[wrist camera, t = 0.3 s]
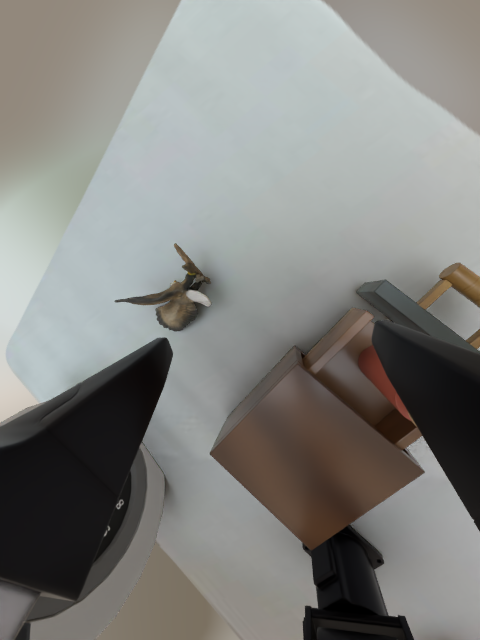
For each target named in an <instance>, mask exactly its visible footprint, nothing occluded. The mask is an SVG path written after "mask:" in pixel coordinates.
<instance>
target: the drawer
mask: <svg viewBox="0 0 480 640" xmlns="http://www.w3.org/2000/svg"><path fill="white" fill-rule="evenodd" d="M439 278H440V279H442V280H440V281H439V282H438V283H437V284H436V285H435V286H434V287H433V288H432V289H430V290H429V291H428V292H427V293H426V294H425V295H424V296H423V297H422V298H421V299H420V300H419V301H418V302H417V303H416V302H414V301H413V300H412V299H410V298H409V297H408V296H406V295H405V294H404V293H402V292H401V291H400V290H399V289H397V288H396V287H395V286H393V285H392V284H391V283H389V282H388V281H387V280H380V281H373V282H366V283H364V284H363V285H362V286H361V287H360V288H359V289H358V290H357V291H356V293H358V294H359V295H360V296H361V297H363V298H364V299H365V300H366V301H368V302H369V303H370V304H372V305H373V306H374V307H375V308H377V309H378V310H379V311H380V312H382V313H383V314H384V315H386V316H387V317H388V318H389V319H391V320H392V321H393V322H395V323H396V324H399V325H402V326H405V327H407V328H410V329H413V330H416V331H418V332H421V333H424V334H427V335H429V336H432V337H435V338H438V339H440V340H443V341H446V342H449V343H451V344H454V345H457V346H459V347H462V348H465V349H468V350H470V351H473V352H476V353H479V354H480V351H478V350H477V349H478V348H479V347H480V329H479V330H478V331H477V332H476V333H474V334H473V335H472V336H471V337H469V338H468V339H467V340H466V341H465V340H464V339H463V338H461V337H460V336H459V335H457V334H456V333H455V332H454V331H452V330H451V329H450V328H448V327H447V326H446V325H444V324H443V323H442V322H440V321H439V320H438V319H437V318H435V317H434V316H433V315H431V314H430V313H429V312H427V311H426V309H427V308H428V307H429V306H430V305H431V304H432V303H433V302H434V301H435V300H436V299H438V298H439V297H440V296H441V295H442V294H443V293H444V292H445V291H446V290H447V289H448V288H450V287H452V288H454V289H455V290H456V291H458V292H459V293H461V294H462V295H463V296H465V297H466V298H467V299H469V300H470V301H471V302H473V303H474V304H475V305H477V306H478V307H479V308H480V277H479V276H478V275H476V274H475V273H474V272H472V271H471V270H470V269H468V268H467V267H465V266H464V265H463V264H461V263H455V264H453V265H451V266H449V267H447V268H446V269H445V270H443V271H442V272H441V273H440V275H439ZM373 318H374V316H373V315H372V314H371V313H370V312H368V311H366V310H361V309H357V308H351V309H350V310H349V311H348V312H347V313H346V314H345V315H344V316H343V318H342V319H341V320H340V321H339V322H338V323H337V324H336V325H335V326H334V327H333V328H332V329H331V330H330V331H329V332H328V333H327V334H326V335H325V336H324V337H323V338H322V339H321V340H320V341H319V342H318V343H317V344H316V345H315V346H314V347H313V348H312V349H311V350H310V351H309V352H308V353H307V355H306V356H305V357H304V358H303V359H302V361H303V366H304V367H305V368H306V369H307V370H309V371H310V372H311V373H312V374H313V375H314V376H316V377H317V378H318V379H319V380H320V381H322V382H323V383H324V384H325V385H326V386H327V387H329V388H330V389H331V390H332V391H333V392H335V393H336V394H337V395H338V396H339V397H340V398H342V399H343V400H344V401H345V402H346V403H347V404H349V405H350V406H351V407H352V408H353V409H355V410H356V411H357V412H358V413H359V414H360V415H362V416H363V417H364V418H365V419H366V420H367V421H369V422H370V423H371V424H372V425H373V426H375V427H376V428H377V429H378V430H379V431H380V432H382V433H383V434H384V435H385V436H386V437H387V438H389V439H390V440H391V441H392V442H393V443H395V444H396V445H397V446H398V447H399V448H400V449H402V450H404V449H405V448H406V447H408V446H409V445H410V444H412V443H413V442H414V441H416V440H417V439H418V438H420V437H421V436H422V434H421V432H420V431H419V429H418V428H417V427H416V426H415V425H414V423H413V422H412V421H410V420H408V419H407V418H405V417H404V416H403V415H402V414H401V413H400V412H399V411H398V410H397V409H396V408H395V407H394V406H393V405H392V403H391V402H390V401H389V400H388V399H387V398H386V397H385V396H384V395H383V394H382V393H381V392H380V391H379V390H378V389H377V388H376V387H375V386H374V385H373V383H372V382H371V381H370V380H369V379H368V378H367V377H366V376H365V375H364V374H363V373H362V372H361V370H360V368H359V365H358V360H359V356H360V354H361V353H362V352H363V350H365V349H366V348H368V347H370V346H372V345H373V344H372V334H373V329H374V324H375V323H373V322H372V321H371V320H372V319H373Z"/></svg>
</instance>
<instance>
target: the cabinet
mask: <svg viewBox="0 0 480 640" xmlns="http://www.w3.org/2000/svg"><path fill="white" fill-rule="evenodd" d="M305 356H306V354H304V353H303V352H302V351H301V350H300V349H298V348H297V347H296V346H294V347H293V348H292V349H291V350H290V351H289V352H288V353H287V354H286V355H285V356H284V357H283V358H282V359H281V360H280V362H279V363H278V364H277V365H276V366H275V367H274V368H273V369H272V370H271V371H270V372H269V373H268V374H267V375H266V376H265V378H264V379H263V380H262V381H261V382H260V383H259V384H258V385H257V386H256V387H255V388H254V389H253V390H252V391H251V392H250V393H249V395H248V396H247V397H246V398H245V399H244V400H243V401H242V402H241V403H240V404H239V405H238V406H237V407H236V408H235V409H234V411H233V412H232V413H231V414H230V415H229V416H228V417H227V419H226V421H225V423H224V425H223V427H222V429H221V431H220V433H219V435H218V437H217V439H216V441H215V443H214V445H213V448H212V450H211V452H210V455H211V456H212V457H213V458H214V459H215V460H216V461H218V462H219V463H220V464H221V465H222V466H223V467H224V468H225V469H226V470H227V471H228V472H229V473H230V474H231V475H232V476H233V477H234V478H235V479H236V480H237V481H239V482H240V483H241V484H242V485H243V486H244V487H245V488H246V489H247V490H248V491H249V492H250V493H251V494H252V495H253V496H254V497H255V498H256V499H257V500H259V501H260V502H261V503H262V504H263V505H264V506H265V507H266V508H267V509H268V510H269V511H270V512H271V513H272V514H273V515H274V516H275V517H276V518H277V519H278V520H280V521H281V522H282V523H283V524H284V525H285V526H286V527H287V528H288V529H289V530H290V531H291V532H292V533H293V534H294V535H295V536H296V537H297V538H298V539H300V540H301V541H302V542H303V543H304V544H305V545H306V546H307V547H308V548H309V549H310V550H313V549H314V548H316V547H317V546H319V545H320V544H322V543H323V542H324V541H326V540H327V539H329V538H330V537H332V536H333V535H335V534H336V533H338V532H339V531H340V530H342V529H343V528H345V527H346V526H348V525H349V524H351V523H352V522H354V521H355V520H356V519H358V518H359V517H361V516H362V515H364V514H365V513H367V512H368V511H369V510H371V509H372V508H374V507H375V506H377V505H378V504H380V503H381V502H383V501H384V500H385V499H387V498H388V497H390V496H391V495H393V494H394V493H396V492H397V491H399V490H400V489H401V488H403V487H404V486H406V485H407V484H409V483H410V482H412V481H413V480H415V479H416V478H417V477H419V476H420V475H422V474H423V473H424V470H423V469H422V468H421V466H420V465H419V464H418V462H417V461H416V460H415V458H414V457H413V456H412V454H411V453H410V452H409V451H408V449H407V448H405V449H404V450H402V449H400V448H399V447H398V446H397V445H396V444H395V443H393V442H392V441H391V440H390V439H389V438H387V437H386V436H385V435H384V434H383V433H382V432H380V431H379V430H378V429H377V428H376V427H375V426H373V425H372V424H371V423H370V422H369V421H367V420H366V419H365V418H364V417H363V416H362V415H360V414H359V413H358V412H357V411H356V410H355V409H353V408H352V407H351V406H350V405H349V404H347V403H346V402H345V401H344V400H343V399H342V398H340V397H339V396H338V395H337V394H336V393H335V392H333V391H332V390H331V389H330V388H329V387H327V386H326V385H325V384H324V383H323V382H322V381H320V380H319V379H318V378H317V377H316V376H314V375H313V374H312V373H311V372H310V371H309V370H307V369H306V368H305V367H304V366H303V361H302V359H303V358H304V357H305Z"/></svg>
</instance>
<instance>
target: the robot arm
mask: <svg viewBox="0 0 480 640" xmlns="http://www.w3.org/2000/svg"><path fill="white" fill-rule="evenodd" d="M372 344H373V347H374V349H375V351H376V353H377V355H378V358H379V360H380V362H381V364H382V367H383V369H384V371H385V373H386V375H387V377H388V379H389V381H390V382H391V384H392V386H393V387H394V389H395V391H396V392H397V394H398V396H399V397H400V399H401V401H402V402H403V404H404V406H405V407H406V409H407V411H408V412H409V414H410V416H411V417H412V419H413V421H414V422H415V424H416V426H417V427H418V429H419V431H420V432H421V434H422V436H423V437H424V439H425V441H426V442H427V444H428V446H429V447H430V449H431V451H432V452H433V454H434V456H435V457H436V459H437V461H438V462H439V464H440V466H441V467H442V469H443V471H444V472H445V474H446V476H447V477H448V479H449V481H450V482H451V484H452V486H453V487H454V489H455V491H456V492H457V494H458V496H459V497H460V499H461V501H462V502H463V504H464V506H465V507H466V509H467V511H468V512H469V514H470V516H471V517H472V519H474V523H475V524H476V526H477V528H478V529H479V531H480V354H479V353H476V352H473V351H470V350H468V349H465V348H462V347H459V346H457V345H454V344H451V343H449V342H446V341H443V340H440V339H438V338H435V337H432V336H429V335H427V334H424V333H421V332H418V331H416V330H413V329H410V328H407V327H405V326H402V325H399V324H396V323H394V322H391V321H388V320H385V321H377V322H375V324H374V329H373V334H372ZM172 357H173V351H172V349H171V346H170V344H169V341H168V339H167V338H157V339H155V340H153V341H152V342H150V343H148V344H146V345H145V346H143V347H141V348H140V349H138V350H136V351H134V352H133V353H131V354H129V355H128V356H126V357H124V358H122V359H121V360H119V361H117V362H116V363H114V364H112V365H110V366H109V367H107V368H105V369H103V370H102V371H100V372H98V373H97V374H95V375H93V376H91V377H90V378H88V379H86V380H85V381H83V382H82V383H79V384H78V385H76V386H74V387H72V388H71V389H69V390H67V391H65V392H64V393H62V394H60V395H58V396H57V397H55V398H53V399H51V400H49V401H47V402H46V403H44V404H42V405H40V406H38V407H36V408H34V409H33V410H31V411H29V412H27V413H25V414H23V415H21V416H19V417H17V418H16V419H14V420H12V421H10V422H8V423H6V424H4V425H2V426H0V640H30V628H31V623H26V622H25V621H26V619H27V617H28V616H29V614H30V612H31V610H32V608H33V607H34V605H35V603H36V601H37V600H38V598H39V596H43V597H50V598H56V599H62V600H69V601H75V602H76V601H77V600H78V598H79V596H80V594H81V592H82V590H83V587H84V585H85V582H86V580H87V577H88V575H89V572H90V570H91V567H92V565H93V562H94V560H95V557H96V555H97V552H98V550H99V547H100V545H101V542H102V540H103V537H104V535H105V532H106V530H107V527H108V525H109V522H110V520H111V517H112V515H113V512H114V510H115V507H116V505H117V502H118V500H119V497H120V495H121V492H122V490H123V487H124V485H125V482H126V480H127V477H128V475H129V472H130V470H131V467H132V465H133V462H134V460H135V457H136V455H137V452H138V450H139V447H140V445H141V442H142V440H143V437H144V435H145V432H146V430H147V427H148V425H149V422H150V420H151V417H152V415H153V412H154V410H155V407H156V405H157V402H158V400H159V397H160V395H161V393H162V390H163V387H164V385H165V382H166V378H167V375H168V371H169V368H170V364H171V361H172ZM302 544H303V549H304V550H305V551H306V552H307V553H308V554H309V555H310V556H311V558H312V568H313V579H314V584H315V586H316V590H317V600H318V608H311V606H305V617H304V621H303V636H304V640H414V638H413V636H412V633H411V631H410V628H409V626H408V623H407V621H406V618H405V616H400V615H398V617H394V616H388V612H387V609H386V606H385V603H384V600H383V597H382V593H381V590H380V587H379V584H378V581H377V577H376V574H375V571H374V569H376V568H378V567H379V566H381V565H383V564H384V560H383V557H382V555H381V554H380V553H379V552H378V551H376V550H375V549H374V548H373V547H372V546H371V545H370V544H369V543H368V542H367V541H366V540H364V539H363V538H362V537H361V536H360V535H359V534H358V533H357V532H356V531H355V530H354V529H352V528H351V527H350V526H349V525H348V526H346V527H345V528H343V529H342V530H340V531H339V532H338V533H336V534H335V535H333V536H332V537H330V538H329V539H327V540H326V541H324V542H323V543H322V544H320V545H319V546H317V547H316V548H314V549H313V550H310V549H309V548H308V547H307V546H306V545H305V544H304V543H302Z"/></svg>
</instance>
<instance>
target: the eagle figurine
mask: <svg viewBox="0 0 480 640" xmlns="http://www.w3.org/2000/svg"><path fill="white" fill-rule="evenodd" d="M174 247H175V248H176V250H177V252H178V254H179V255H180V256H181V258H182V259H183V260H184V261H185V262H186V264H185V265H183V266H182V268H183V269H185V270H186V271H188V273H187V275H186V277H185V280H184V281H183V282H181V283H179V282H176V281H174V282H172V283H171V287H170V288H169V289H167V290H165V291H163V292H161V293H157V294H151V295H147V296H143V297H132V298H127V299H120V300H115V302H129V303H132V304H138V305H155V304H160V303H163V302H167V301H170V300H171V301H170V302H169V303H168V304H166V305H165V306H162V307H158V308H156V309H155V310H156V315H157V316H158V317H157V320H158V321H159V324H160V325H163V327H164V328H169V330H173V331H180V330H183V328H185V327H186V325H188V324H190V322H192V321H193V320H195V318H196V317H197V315H198V310H196V306H195V302H199V303H201V304H203V305H205V306H208V307H209V306H210V305H211V304H212V302H211V301H210V299H209V298H208V297H207V296H206V295H204V294H203V293H200V292H199V291H198V289H199V288H200V286H201V284H202V283H201V282H205V283H207V284H211V281H210V279H209V278H207V277H205V276H204V275H203V274H202V273H201V271H200V270H199V269H198V268H197V267H196V266H195V265H194V263H193V262H192V261H191V259H190V258H189V257H188V256H187V255H186V254H185V253H184V251H183V250H182V249H181V248H180V247H179V246H178V245H177V244H176V243H175V244H174ZM195 278H196V282H195V283H194V284H193V285H192V283H193V280H194V279H195ZM190 285H192V286H190Z"/></svg>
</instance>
